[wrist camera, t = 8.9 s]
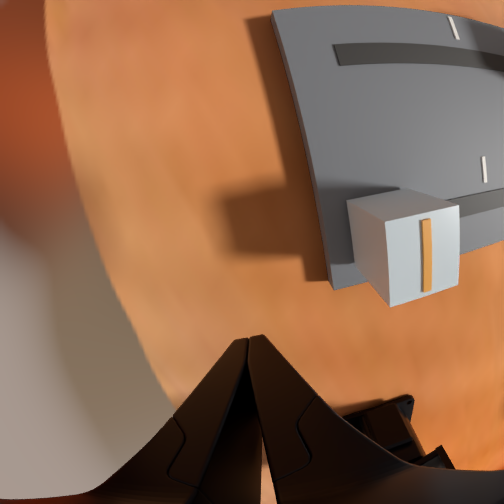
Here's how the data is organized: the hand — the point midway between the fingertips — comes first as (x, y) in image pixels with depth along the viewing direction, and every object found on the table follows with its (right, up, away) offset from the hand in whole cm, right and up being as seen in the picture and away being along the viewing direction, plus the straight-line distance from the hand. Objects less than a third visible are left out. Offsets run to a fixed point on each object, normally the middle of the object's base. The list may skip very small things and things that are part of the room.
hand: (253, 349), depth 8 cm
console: (+13, +10, +6) cm, 18 cm away
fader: (+7, +4, +6) cm, 10 cm away
